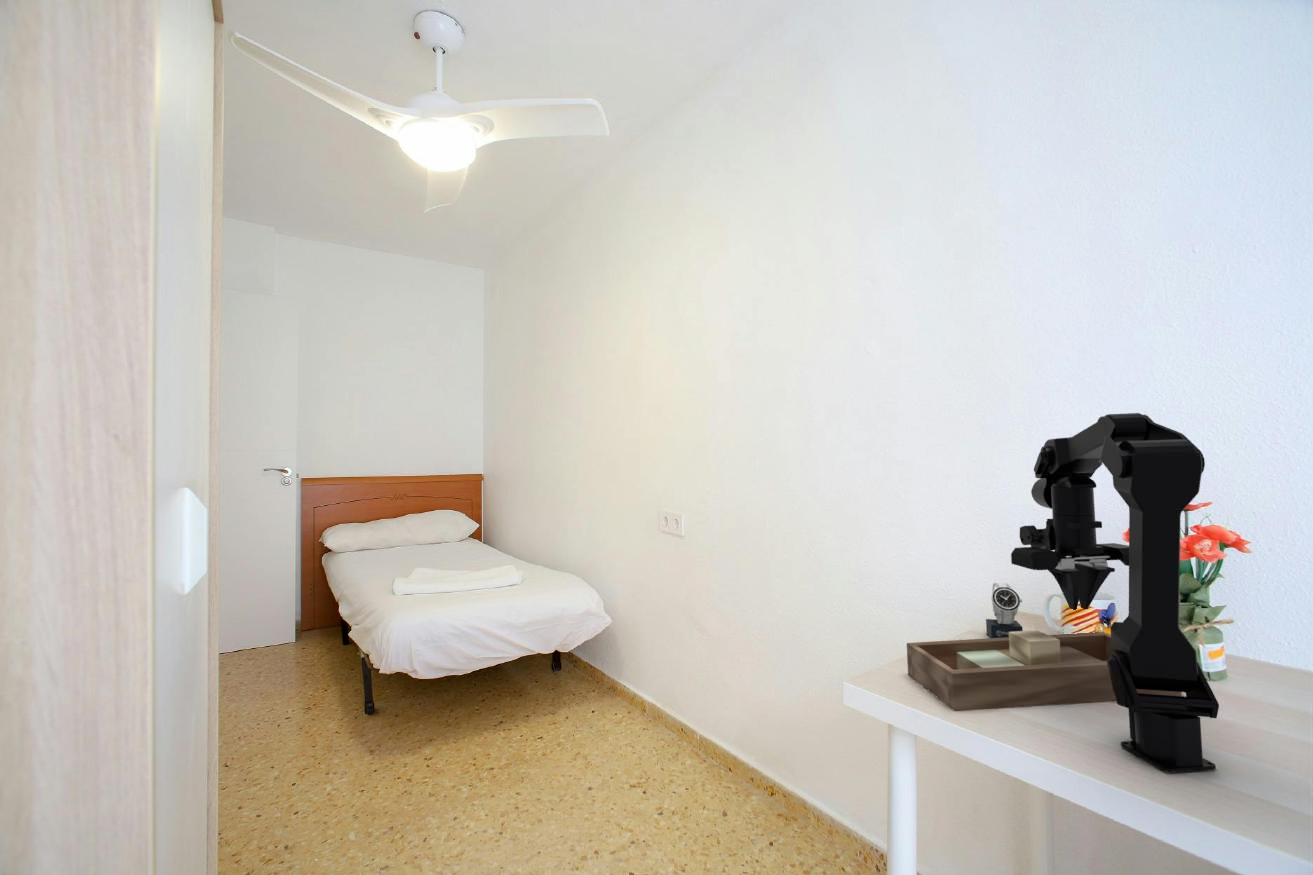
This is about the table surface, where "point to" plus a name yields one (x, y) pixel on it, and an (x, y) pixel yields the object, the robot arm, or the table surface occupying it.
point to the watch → (1003, 611)
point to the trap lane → (1014, 673)
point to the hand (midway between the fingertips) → (1078, 608)
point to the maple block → (1034, 647)
